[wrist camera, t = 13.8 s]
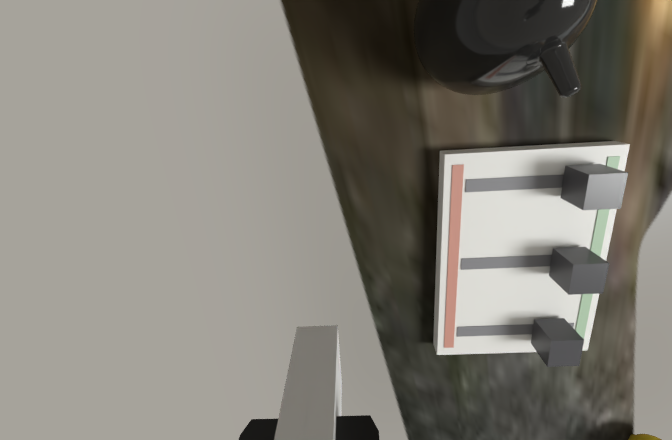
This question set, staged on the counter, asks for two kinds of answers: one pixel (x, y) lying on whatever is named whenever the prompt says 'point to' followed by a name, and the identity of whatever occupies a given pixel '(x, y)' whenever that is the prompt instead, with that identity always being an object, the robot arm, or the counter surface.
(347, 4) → the counter surface
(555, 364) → the switch
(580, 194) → the block
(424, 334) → the counter surface
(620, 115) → the counter surface
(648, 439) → the lemon
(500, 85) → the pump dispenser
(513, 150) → the breaker panel
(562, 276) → the block
